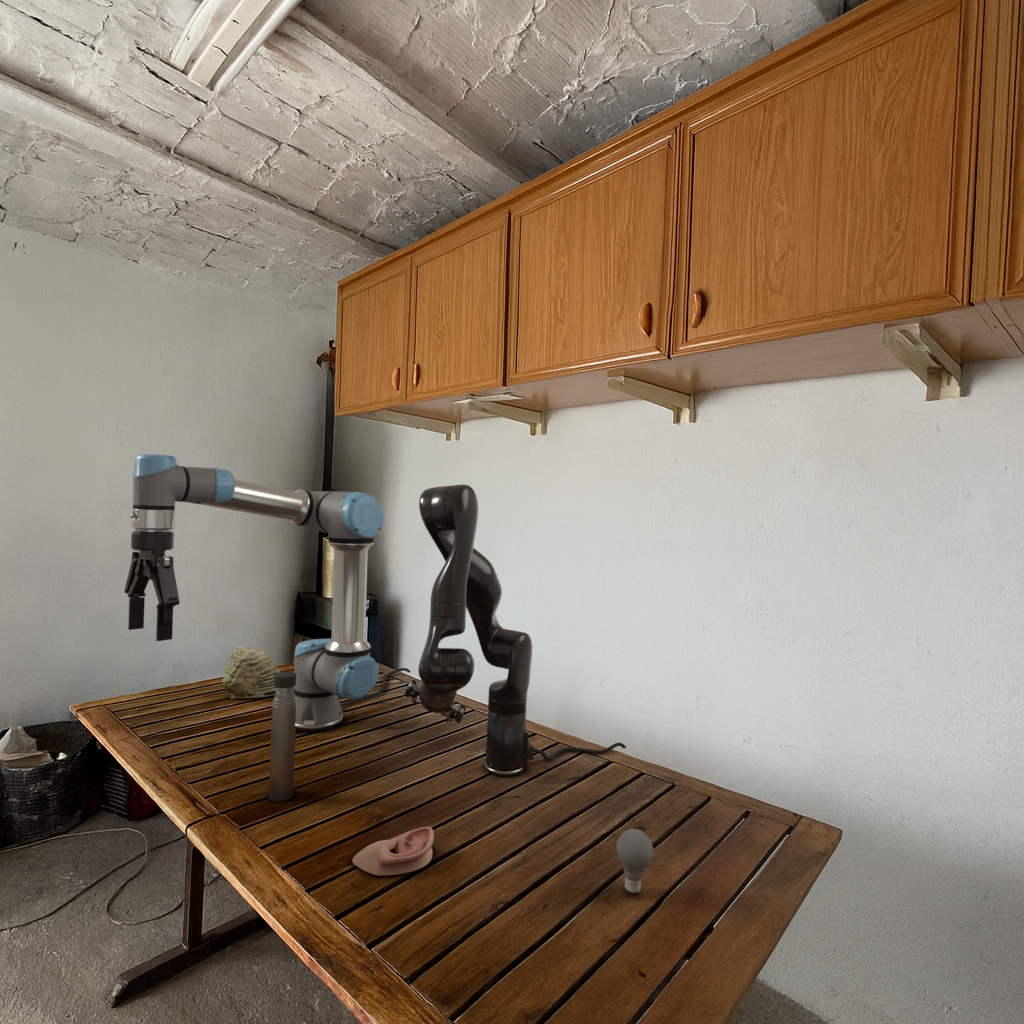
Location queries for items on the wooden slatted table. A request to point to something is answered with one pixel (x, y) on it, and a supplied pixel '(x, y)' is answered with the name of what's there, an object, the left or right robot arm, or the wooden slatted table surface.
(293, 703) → the bottle
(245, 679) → the fossil
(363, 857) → the anatomical model
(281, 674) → the cap
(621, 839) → the light bulb
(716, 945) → the wooden slatted table surface
